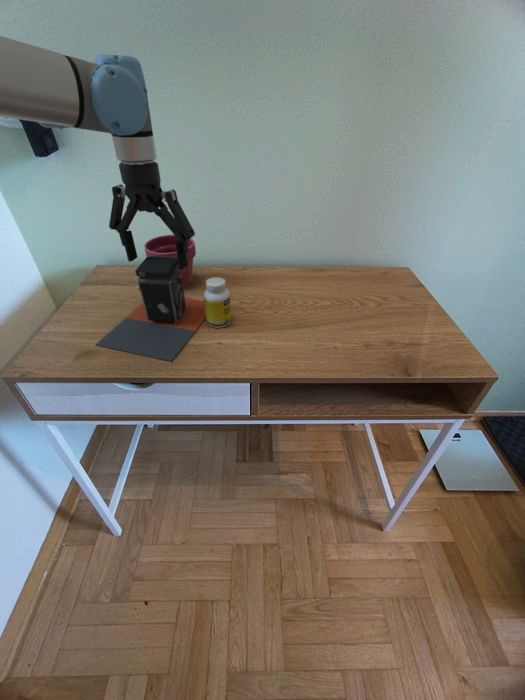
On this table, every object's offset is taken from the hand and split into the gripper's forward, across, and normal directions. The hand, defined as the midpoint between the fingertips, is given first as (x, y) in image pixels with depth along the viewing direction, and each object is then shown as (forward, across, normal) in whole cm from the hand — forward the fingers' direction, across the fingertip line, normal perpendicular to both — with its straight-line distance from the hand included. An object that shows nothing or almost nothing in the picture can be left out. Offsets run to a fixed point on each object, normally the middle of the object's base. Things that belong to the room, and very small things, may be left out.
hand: (157, 263), depth 76 cm
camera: (+15, 0, 0) cm, 15 cm away
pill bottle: (+15, -14, -1) cm, 21 cm away
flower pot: (+15, +7, -17) cm, 24 cm away
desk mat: (+15, 0, +4) cm, 15 cm away
